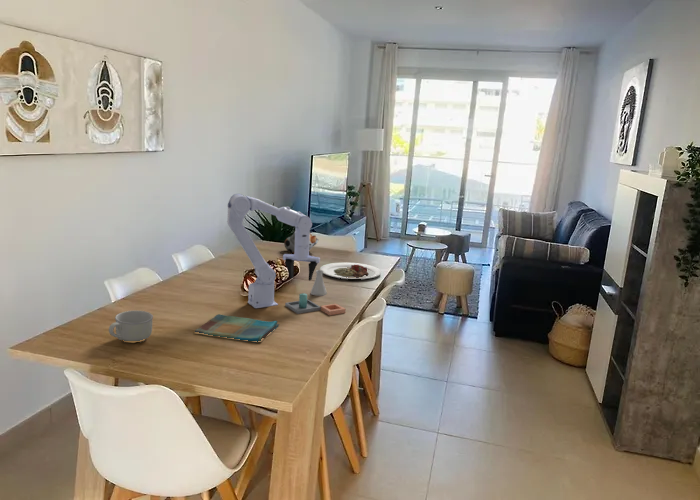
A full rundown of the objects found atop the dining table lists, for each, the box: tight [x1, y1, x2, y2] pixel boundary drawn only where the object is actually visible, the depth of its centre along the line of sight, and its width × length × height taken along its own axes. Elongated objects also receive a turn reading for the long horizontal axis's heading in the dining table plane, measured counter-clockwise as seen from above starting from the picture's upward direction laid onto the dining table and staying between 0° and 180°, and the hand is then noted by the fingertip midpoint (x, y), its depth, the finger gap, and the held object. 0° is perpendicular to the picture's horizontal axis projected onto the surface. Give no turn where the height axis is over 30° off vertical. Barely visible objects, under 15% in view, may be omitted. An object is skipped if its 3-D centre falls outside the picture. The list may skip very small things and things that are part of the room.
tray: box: [284, 299, 321, 315], centre depth 198 cm, size 10×10×2 cm
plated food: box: [319, 261, 382, 280], centre depth 253 cm, size 30×30×3 cm
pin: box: [298, 293, 308, 308], centre depth 198 cm, size 3×3×5 cm
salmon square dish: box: [319, 303, 347, 316], centre depth 196 cm, size 7×7×2 cm
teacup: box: [108, 310, 154, 341], centre depth 159 cm, size 14×11×8 cm
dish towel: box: [194, 314, 280, 342], centre depth 174 cm, size 17×23×2 cm
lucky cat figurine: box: [283, 231, 319, 254], centre depth 290 cm, size 17×14×16 cm
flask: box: [310, 269, 328, 297], centre depth 217 cm, size 7×7×10 cm
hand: (300, 278), depth 204 cm, fingers open, 7 cm apart
